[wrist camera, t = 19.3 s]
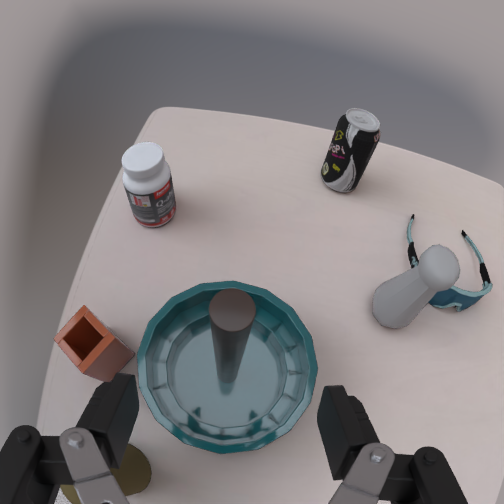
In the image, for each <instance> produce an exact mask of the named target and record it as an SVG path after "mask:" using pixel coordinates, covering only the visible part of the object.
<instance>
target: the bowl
mask: <svg viewBox="0 0 504 504" xmlns="http://www.w3.org/2000/svg"><path fill="white" fill-rule="evenodd" d="M228 288H236V289H240V290H243V291H245V292H246V293H247V294H249V295H250V296H251V298H252V299H253V301H254V303H255V307H256V314H255V318H254V322H253V325H252V328H251V331H250V335H249V338H248V341H247V345H246V348H245V351H244V354H243V358H242V361H241V364H240V367H239V370H238V374H237V377H236V379H235V380H234V381H232V382H230V383H224V382H222V381H221V380H220V379H219V378H218V375H217V369H216V362H215V354H214V347H213V339H212V332H211V324H210V316H209V305H210V302H211V300H212V298H213V297H214V296H215V295H216V294H217V293H218V292H220V291H222V290H224V289H228ZM137 353H138V354H137V363H138V379H139V388H140V391H141V393H142V395H143V397H144V399H145V401H146V403H147V405H148V406H149V408H150V410H151V412H152V414H153V416H154V418H155V419H156V421H157V422H159V423H160V424H161V425H162V426H163V427H165V428H166V429H167V430H168V431H169V432H171V433H172V434H173V435H174V436H175V437H177V438H178V439H179V440H181V441H182V442H183V443H185V444H188V445H191V446H194V447H197V448H201V449H204V450H208V451H211V452H215V453H219V454H226V453H235V452H244V451H251V450H258V449H260V448H262V447H264V446H265V445H267V444H269V443H271V442H272V441H274V440H276V439H278V438H279V437H281V436H283V435H284V434H286V433H288V432H289V431H290V430H291V429H292V428H293V426H294V425H295V424H296V422H297V421H298V419H299V418H300V417H301V415H302V414H303V413H304V411H305V410H306V408H307V407H308V406H309V404H310V402H311V399H312V395H313V390H314V385H315V381H316V376H317V371H318V366H317V361H316V356H315V351H314V346H313V341H312V336H311V335H310V333H309V332H308V330H307V329H306V327H305V326H304V324H303V323H302V321H301V320H300V318H299V317H298V315H297V314H296V312H295V311H294V309H293V308H292V307H290V306H289V305H288V304H286V303H285V302H283V301H282V300H281V299H279V298H278V297H276V296H275V295H274V294H272V293H271V292H269V291H268V290H266V289H263V288H259V287H256V286H252V285H248V284H244V283H241V282H237V281H224V282H213V283H202V284H199V285H197V286H195V287H192V288H190V289H188V290H186V291H184V292H182V293H180V294H178V295H176V296H174V297H172V298H171V299H170V300H169V301H168V302H167V303H166V304H165V305H164V306H163V307H162V308H161V309H160V310H159V311H158V313H157V314H156V315H155V316H154V317H153V318H152V319H151V320H150V321H149V323H148V325H147V328H146V330H145V333H144V336H143V339H142V341H141V344H140V347H139V350H138V352H137Z"/></svg>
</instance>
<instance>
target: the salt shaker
mask: <svg viewBox="0 0 504 504" xmlns="http://www.w3.org/2000/svg"><path fill="white" fill-rule="evenodd" d="M459 275H460V266H459V262H458V259H457V257H456V256H455V254H454V253H453V252H452V251H451V250H450V249H449V248H447V247H444V246H442V245H440V244H439V245H432V246H431V247H429V248H428V249H427V250H426V251H425V252H423V254H422V255H421V256H420V260H419V264H418V266H416V267H414V268H412V269H410V270H408V271H406V272H404V273H402V274H400V275H398V276H396V277H394V278H392V279H390V280H388V281H386V282H384V283H383V284H382V285H380V286H379V287H378V288H377V289H376V292H375V295H374V297H373V315H374V317H375V318H376V319H377V320H378V322H379V323H380V324H381V326H387V327H391V328H395V329H397V328H401V327H405V326H407V325H408V324H409V323H410V322H411V321H412V320H413V319H414V318H415V317H416V316H417V315H418V313H419V312H420V311H421V310H422V309H423V308H424V306H425V305H426V304H427V303H428V302H429V301H430V300H431V298H432V297H433V296H434V295H435V294H436V292H437V291H438V292H439V291H444V290H448V289H449V288H451V287H452V286H453V285H454V283H455V282H456V281H457V280H458V278H459Z"/></svg>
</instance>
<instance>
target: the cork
mask: <svg viewBox="0 0 504 504" xmlns="http://www.w3.org/2000/svg"><path fill="white" fill-rule="evenodd" d="M110 472H112V474H113V476H114V477H115V479H116V481H117V483H118V485H119V486H120V488H121V490H122V492H123V493H124V495H125V496H129V495H132V494H135V493H139V492H141V491H142V490H144V489H145V488H146V487H147V485H148V484H149V482H150V479H151V468H150V464H149V462H148V460H147V458H146V457H145V455H144V454H143V453H142V452H141V451H140V450H139V449H137V448H136V447H134V446H132V445H130V444H127V447H126V450H125V453H124V456H123V459H122V462H121V465H120V469H115V468H110ZM60 488H61V490H62V492H63V494H64V495H65V496H66V498H67V499H68V500H69V501H70V502H71V503H72V504H81V502H80V499H79V497H78V495H77V492H76V490H75V488H74V485H60Z"/></svg>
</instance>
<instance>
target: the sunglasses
mask: <svg viewBox="0 0 504 504" xmlns="http://www.w3.org/2000/svg"><path fill="white" fill-rule="evenodd" d="M413 219H414V214H413V215H412V217H411V221H410V223H409V225H408V228H407V240H408V243H409V247H408V256H409V261H410V265H411V269H412V268H414V267H416V266H418V264H419V260H418V258H417V255H416V252H415V248H414V242H413V240H412V238H411V224H412V221H413ZM461 234H462V235H463V237H464V238H465V239H466V240H467V242H468V243H469V244H470V246H471V247H472V249H473V250H474V252H475V254H476V255H477V257H478V260H479V263H480V273H481V277H482V280H483V284H482V286H483V289H482V290H481V291H480V292H470V291H466V290H462V289H460V288H457V287H455V286H452V287H451V288H449V289H448V290H444V291H439V292H438V291H437V292H436V294H435V295H434V296H433V297H432V298H431V300H430V301H429V302H428V303H430V304H431V305H432V306H435V307H439V308H442V309H443V308H447V307H450V306H454V305H455V307H457V308H456V309H457V311H462V310H464V309H466V308H468V307H470V306H471V305H473V304H475V303H476V302H477V301H478V300H479V299H480V298H482V297H483V296H484V295H485V294H487V293H489V292H490V291H491V289H492V285H493V284H492V283H491V282H490V278H489V275H488V272H487V269H486V266H485V264H484V261H483V258H482V256H481V254H480V252H479V251H478V249H477V247H476V246H475V244H474V243H473V242H472V240H471V239H470V238H469V237H468V236H467V235H466V233H465V232H464V231H463V230H462V233H461Z"/></svg>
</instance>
